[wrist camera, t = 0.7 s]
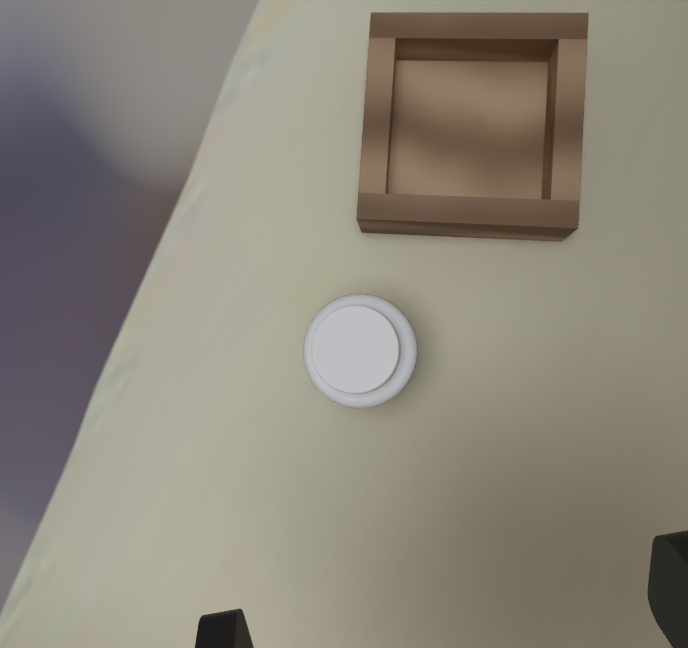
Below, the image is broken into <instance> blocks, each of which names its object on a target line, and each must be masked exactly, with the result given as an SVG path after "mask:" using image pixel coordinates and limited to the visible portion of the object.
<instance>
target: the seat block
mask: <svg viewBox="0 0 688 648" xmlns="http://www.w3.org/2000/svg"><path fill="white" fill-rule="evenodd" d="M587 33H588V13H371V20H370V34H369V48H368V63H367V77H366V92H365V106H364V120H363V135H362V149H361V163H360V178H359V192H358V206H357V221H358V224H359V226H360V229H361V232H364V233H386V234H408V235H430V236H453V237H475V238H497V239H519V240H541V241H563V240H564V239H565V238H567V237H568V236H569V235H570V234H572V233H573V232H574V231H575V230H577V229H578V221H579V200H580V180H581V159H582V138H583V117H584V96H585V75H586V54H587Z"/></svg>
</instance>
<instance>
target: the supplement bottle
mask: <svg viewBox="0 0 688 648" xmlns="http://www.w3.org/2000/svg"><path fill="white" fill-rule="evenodd" d="M303 358H304V363H305V367H306V370H307V373H308V375H309V377H310V379H311V381H312V382H313V384H314V385H315V387H316V388H317V389H318V390H319V391H320V392H321V393H322V394H323V395H324V396H326V397H327V398H328V399H330V400H332V401H333V402H335V403H337V404H340V405H343V406H346V407H352V408H369V407H373V406H377V405H380V404H382V403H385V402H387V401H388V400H390V399H392V398H393V397H395V396H396V395H397V394H398V393H399V392H400V391H401V390H402V389H403V388H404V387H405V386H406V384H407V383H408V381H409V380H410V378H411V376H412V374H413V372H414V369H415V365H416V360H417V342H416V337H415V334H414V331H413V328H412V326H411V324H410V322H409V321H408V319H407V318H406V317H405V315H404V314H403V313H402V312H401V311H400V310H399V309H398V308H397V307H396V306H395V305H393V304H392V303H390V302H388V301H387V300H385V299H383V298H380V297H377V296H373V295H369V294H351V295H347V296H343V297H340V298H338V299H335V300H333V301H332V302H330V303H329V304H327V305H326V306H324V307H323V308H322V309H321V310H320V311H319V312H318V313H317V314H316V316H315V317H314V318H313V320H312V321H311V323H310V325H309V327H308V329H307V332H306V335H305V338H304V344H303Z"/></svg>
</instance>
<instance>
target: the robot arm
mask: <svg viewBox="0 0 688 648" xmlns="http://www.w3.org/2000/svg"><path fill="white" fill-rule="evenodd" d="M648 600H649V604H650V608H651V611H652V613H653V616H654V618H655V620H656V622H657V624H658V625H659V627H660V629H661V630H662V632H663V633H664V635H665V636H666V638H667V639H668V641H669V642H670V644H671V645H672V647H673V648H688V530H687V531H682V532H676V533H670V534H665V535H659V536H656V537H655V538H654V540H653V545H652V555H651V564H650V573H649V583H648ZM195 648H254V647H253V644H252V641H251V637H250V634H249V630H248V627H247V623H246V620H245V617H244V614H243V611H242V610H241V609H236V610H230V611H224V612H219V613H213V614H208V615H203V616H201V618H200V621H199V625H198V631H197V638H196V644H195Z"/></svg>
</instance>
